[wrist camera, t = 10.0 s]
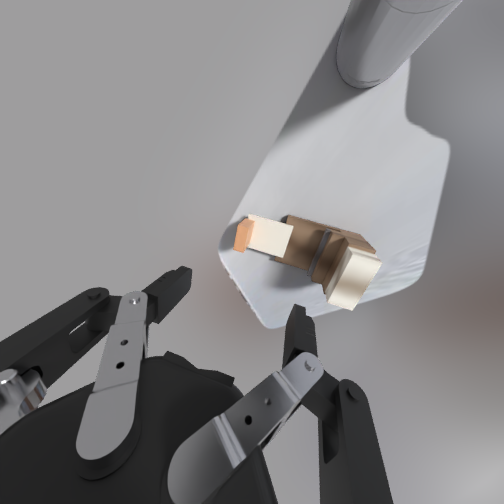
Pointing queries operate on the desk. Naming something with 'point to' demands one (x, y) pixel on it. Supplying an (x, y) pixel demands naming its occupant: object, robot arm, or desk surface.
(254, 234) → the plank with orange cube
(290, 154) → the desk surface
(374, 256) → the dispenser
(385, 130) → the desk surface
